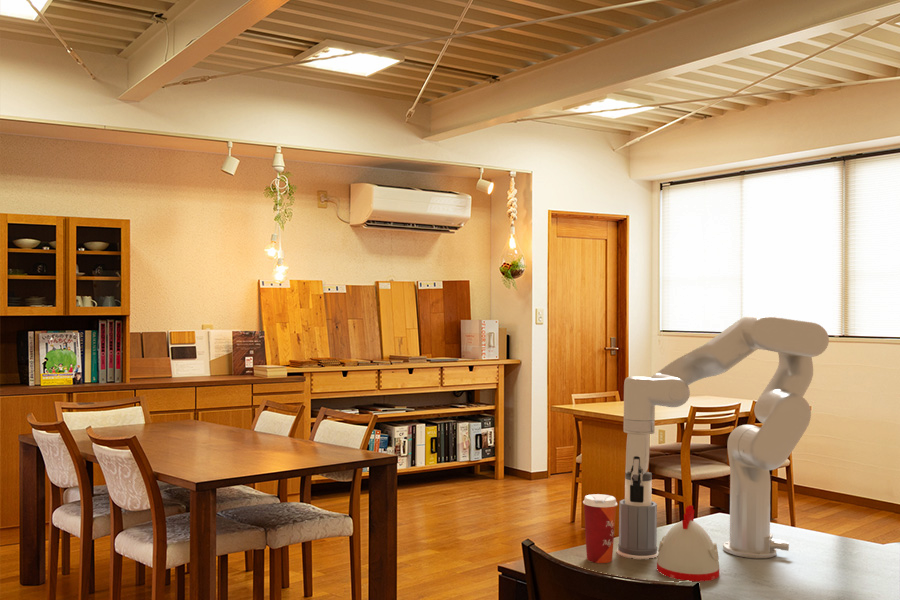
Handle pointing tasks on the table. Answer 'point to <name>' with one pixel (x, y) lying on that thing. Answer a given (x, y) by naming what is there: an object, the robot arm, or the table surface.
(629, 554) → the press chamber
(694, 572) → the kitchen timer
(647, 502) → the plunger
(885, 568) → the table surface
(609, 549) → the coffee cup
